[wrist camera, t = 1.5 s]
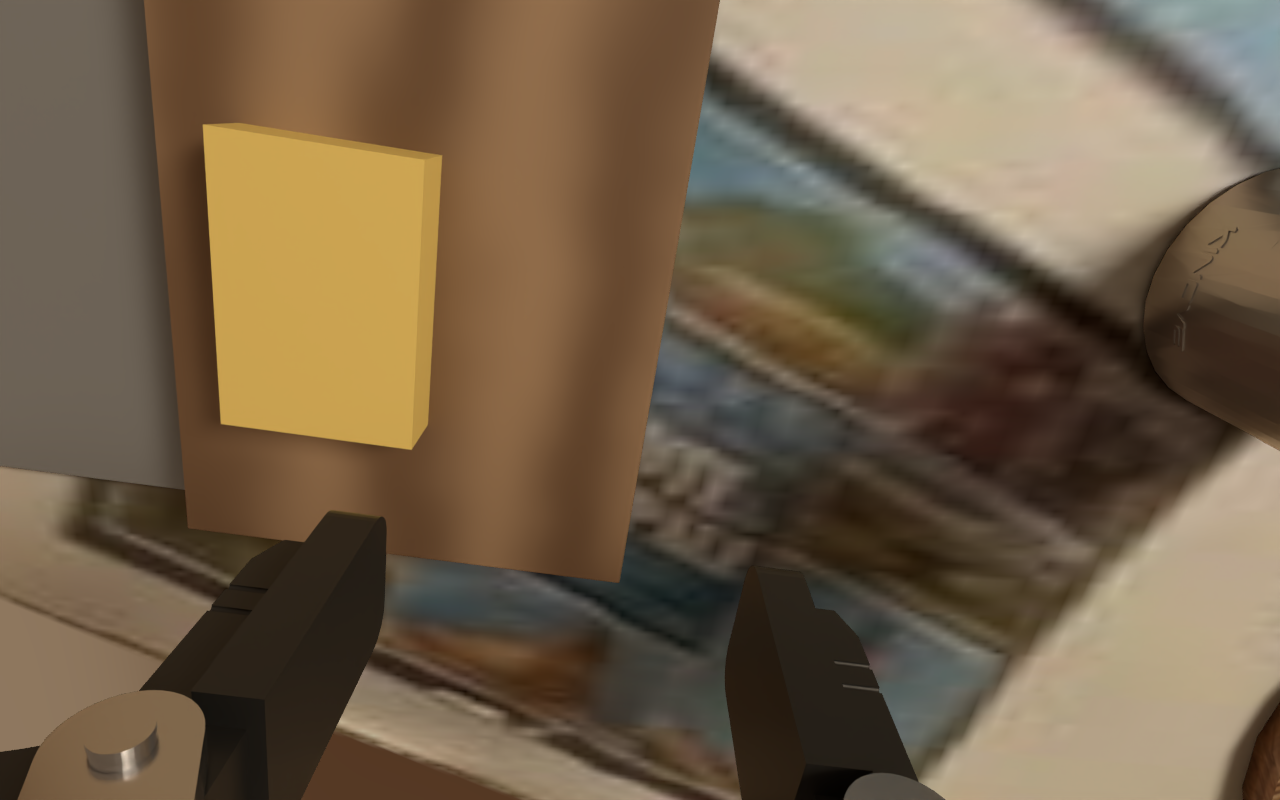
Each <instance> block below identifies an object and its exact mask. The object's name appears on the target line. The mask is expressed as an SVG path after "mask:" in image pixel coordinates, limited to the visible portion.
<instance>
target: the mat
mask: <svg viewBox="0 0 1280 800" xmlns="http://www.w3.org/2000/svg"><path fill="white" fill-rule="evenodd" d="M0 466H5V467H13V468H20V469H28V470H36V471H43V472H51V473H59V474H66V475H74V476H82V477H90V478H97V479H105V480H113V481H120V482H128V483H136V484H143V485H151V486H159V487H167V488H174V489H182V490H185V486H184V474H183V462H182V450H181V438H180V426H179V414H178V402H177V390H176V378H175V367H174V355H173V343H172V331H171V319H170V307H169V295H168V283H167V271H166V259H165V247H164V235H163V223H162V211H161V199H160V187H159V175H158V163H157V151H156V139H155V127H154V115H153V104H152V92H151V80H150V68H149V56H148V44H147V32H146V20H145V8H144V0H0Z"/></svg>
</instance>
